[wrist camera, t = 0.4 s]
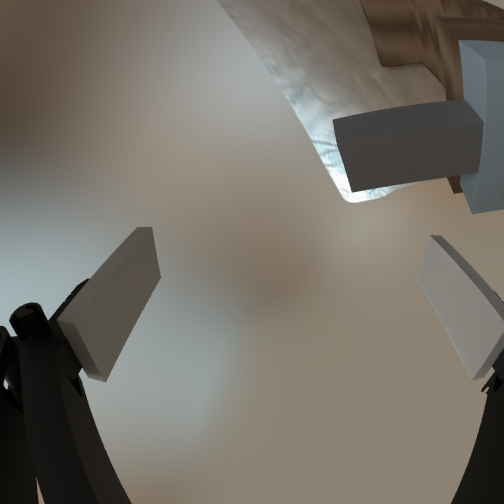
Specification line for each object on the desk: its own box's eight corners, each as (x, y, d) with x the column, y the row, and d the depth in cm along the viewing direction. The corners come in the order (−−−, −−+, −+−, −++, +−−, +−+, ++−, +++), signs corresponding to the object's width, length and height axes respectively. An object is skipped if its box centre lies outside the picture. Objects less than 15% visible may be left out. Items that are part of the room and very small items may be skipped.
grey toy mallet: (309, 61, 12) (313, 82, 11) (547, 48, 5) (576, 71, 4) (357, 200, 21) (361, 231, 20) (530, 175, 14) (544, 202, 12)
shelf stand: (352, -16, 22) (448, 24, 8) (410, -22, 19) (551, 36, 4) (380, 64, 33) (453, 193, 18) (431, 57, 29) (531, 183, 15)
